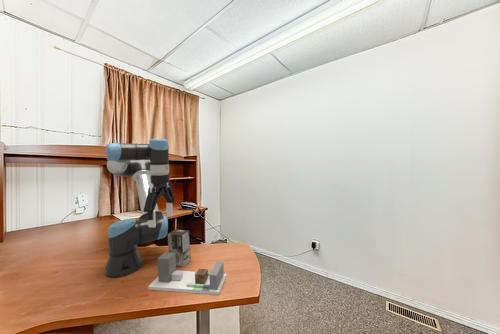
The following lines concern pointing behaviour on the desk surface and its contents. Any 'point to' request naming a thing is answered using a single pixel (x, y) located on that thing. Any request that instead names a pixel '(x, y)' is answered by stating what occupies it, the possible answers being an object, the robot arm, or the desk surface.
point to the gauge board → (188, 282)
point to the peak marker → (201, 276)
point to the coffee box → (180, 246)
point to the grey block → (168, 268)
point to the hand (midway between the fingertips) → (161, 221)
